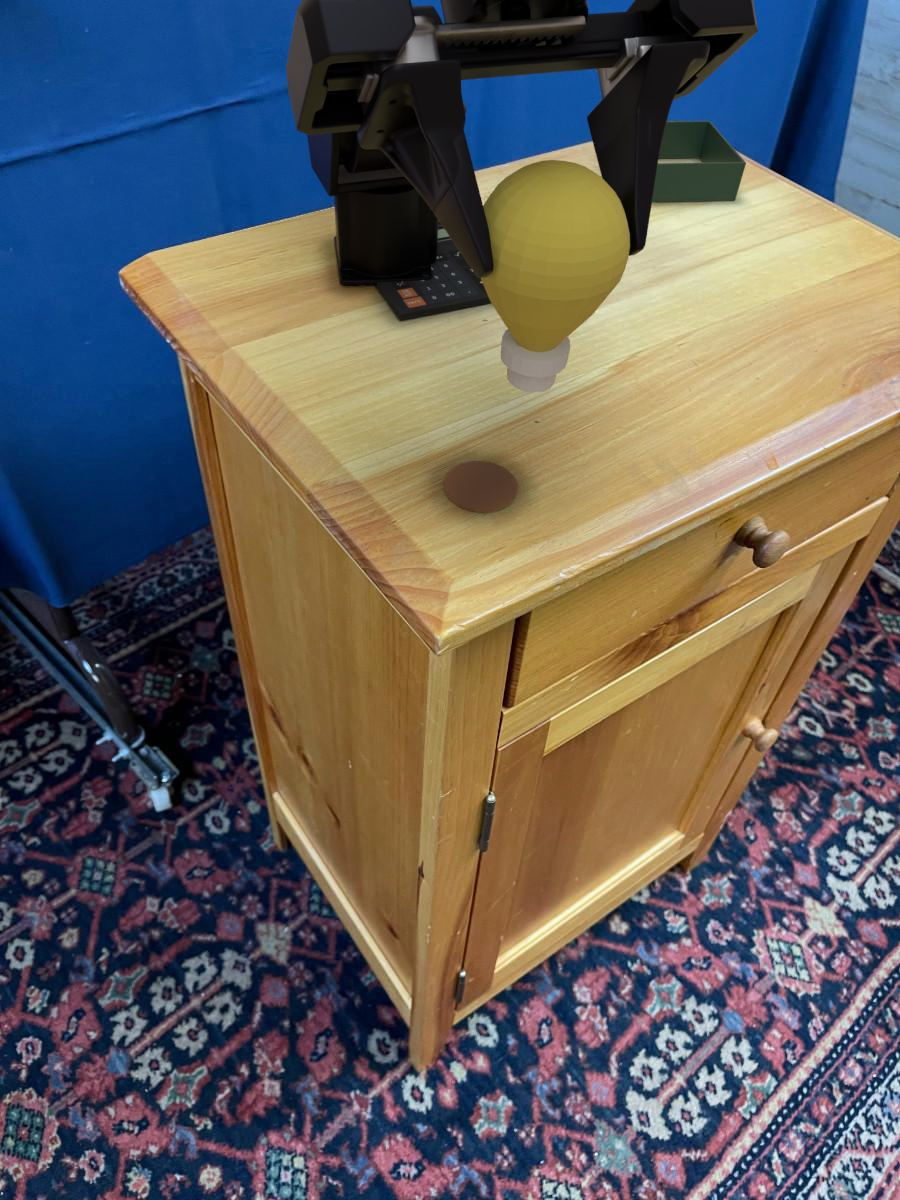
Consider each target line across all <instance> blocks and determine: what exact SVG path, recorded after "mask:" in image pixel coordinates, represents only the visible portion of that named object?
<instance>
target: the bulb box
mask: <svg viewBox="0 0 900 1200" xmlns="http://www.w3.org/2000/svg"><path fill="white" fill-rule="evenodd" d="M659 159H700V160H701V162H658V166H657V172H656V179H655V185H654V192H653V198H652V203H675V202H677V203H681V202H684V203H685V202H719V201H720V202H722V201H723V202H725V201H726V202H727V201H736V198H737V196H738V191H739V188H740V186H741V182H742V178H743V175H744V171H745V168H746V165H747V162H746V160H744V158H743V157H742V156H741V155H740V154H739V152H738V151H737V150H736V149H735V148H734V146H733V145H732V144H731V143H730V142H729V141H728V140H727V138H726V137H725V136H724V135H723V133H722V132H720V130H719V129H718V127H716V126H715V125H714V123H713V122H712V121H711V120H667V122H666V126H665V130H664V134H663V138H662V142H661V147H660V153H659Z"/></svg>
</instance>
